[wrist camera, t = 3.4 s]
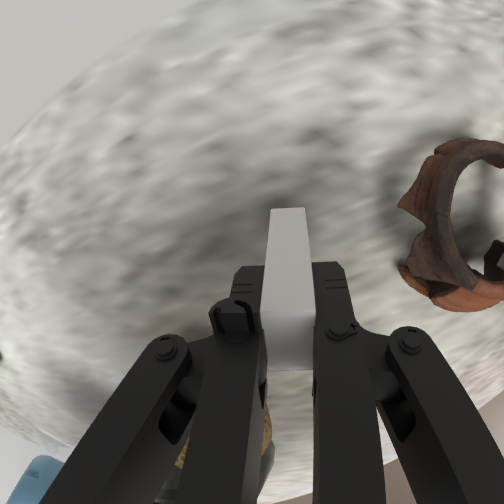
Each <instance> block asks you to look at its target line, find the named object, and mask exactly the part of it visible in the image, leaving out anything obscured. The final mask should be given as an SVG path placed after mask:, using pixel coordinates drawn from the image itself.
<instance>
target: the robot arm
mask: <svg viewBox="0 0 504 504" xmlns="http://www.w3.org/2000/svg"><path fill="white" fill-rule="evenodd" d="M208 314H209V317H210V321H211V324H212V328H213V331H214V335H212V336H210V337H208V338H205V339H202V340H198V341H194V342H190V343H187V342H186V341H185V340H184V339H183V338H182V337H180V336H178V335H172V334H168V335H163V336H160V337H158V338H156V339H154V340H153V341H152V342H151V343H150V344H149V345H148V346H147V347H146V348H145V350H144V351H143V352H142V354H141V355H140V357H139V358H138V359H137V361H136V362H135V364H134V365H133V366H132V368H131V369H130V370H129V372H128V373H127V375H126V376H125V377H124V379H123V380H122V382H121V383H120V384H119V386H118V387H117V389H116V390H115V391H114V393H113V394H112V396H111V397H110V399H109V400H108V401H107V403H106V404H105V406H104V407H103V408H102V410H101V411H100V413H99V414H98V416H97V417H96V419H95V420H94V421H93V423H92V424H91V426H90V427H89V429H88V430H87V432H86V433H85V434H84V436H83V437H82V439H81V440H80V442H79V443H78V445H77V446H76V448H75V449H74V451H73V452H72V454H71V455H70V457H69V458H68V459H67V461H66V462H65V463H63V462H61V461H59V460H57V459H55V458H53V457H51V456H48V455H40V456H37V457H36V458H34V459H33V460H32V462H31V463H30V465H29V466H28V468H27V469H26V471H25V472H24V474H23V475H22V477H21V479H20V480H19V482H18V484H17V485H16V487H15V489H14V490H13V492H12V494H11V496H10V498H9V499H8V501H7V503H6V504H257V498H258V496H259V494H260V492H261V490H262V488H263V486H264V483H265V481H266V479H267V477H268V475H269V473H270V471H271V468H272V466H273V463H274V451H275V448H274V445H273V443H272V442H271V441H270V444H269V446H268V448H267V450H266V451H265V452H264V453H263V455H262V456H261V454H262V443H263V432H264V421H265V409H266V397H267V378H266V373H267V368H268V371H284V370H313V388H312V396H313V422H314V460H313V504H386V493H385V480H384V469H383V458H382V449H381V441H380V433H379V425H378V418H377V411H376V407H377V409H378V412H379V414H380V416H381V418H382V421H383V423H384V425H385V428H386V430H387V432H388V434H389V437H390V439H391V441H392V444H393V446H394V448H395V451H396V453H397V456H398V458H399V460H400V463H401V465H402V468H403V470H404V472H405V475H406V477H407V480H408V482H409V485H410V487H411V490H412V492H413V495H414V497H415V500H416V503H417V504H504V458H503V456H502V454H501V452H500V450H499V448H498V446H497V444H496V442H495V441H494V439H493V437H492V435H491V433H490V431H489V430H488V428H487V426H486V424H485V423H484V421H483V419H482V417H481V416H480V414H479V412H478V410H477V409H476V407H475V405H474V404H473V402H472V400H471V399H470V397H469V395H468V394H467V392H466V391H465V389H464V387H463V386H462V384H461V383H460V381H459V379H458V378H457V376H456V375H455V373H454V372H453V370H452V369H451V367H450V366H449V364H448V363H447V361H446V360H445V358H444V357H443V355H442V354H441V352H440V351H439V349H438V348H437V346H436V345H435V343H434V342H433V340H432V339H431V338H430V336H429V335H428V334H427V333H426V332H425V331H423V330H421V329H419V328H417V327H411V326H406V327H400V328H398V329H396V330H394V331H393V333H392V334H391V335H390V336H386V335H380V334H375V333H372V332H369V331H367V330H365V329H364V328H362V327H361V326H360V324H359V323H358V322H357V321H356V319H355V317H354V312H353V307H352V303H351V298H350V294H349V289H348V285H347V281H346V277H345V272H344V269H343V268H342V267H341V266H340V265H339V264H338V263H337V262H336V261H334V262H313V263H311V256H310V247H309V239H308V230H307V222H306V214H305V207H299V208H280V209H271V214H270V223H269V233H268V242H267V252H266V261H265V265H264V266H242V267H241V268H240V269H239V270H238V272H237V273H236V274H235V275H234V280H233V286H232V288H231V294H230V297H229V298H226V299H224V300H221V301H219V302H217V303H216V304H215V305H214V306H212V308H211V309H210V311H209V313H208ZM189 436H190V437H189ZM188 438H189V441H188V445H187V450H186V454H185V458H184V463H183V467H182V469H181V468H179V467H178V466H177V465H175V462H176V461H177V459H178V457H179V455H180V453H181V451H182V449H183V448H184V446H185V444H186V442H187V440H188ZM155 499H156V500H155Z"/></svg>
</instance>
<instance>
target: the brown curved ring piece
mask: <svg viewBox="0 0 504 504" xmlns="http://www.w3.org/2000/svg"><path fill="white" fill-rule="evenodd" d="M480 159H483V160H485V161H486V162H488V163H490V164H491V165H493V166H494V167H497V168H500V169H501V168H504V144H502V143H500V142H497V141H489V140H478V139H471V138H461V139H454V140H451V141H448V142H446V143H444V144H442V145H440V146H438V147H436V148H435V149H434V155H432V156H429V157H427V158H426V159H425V161H424V163H423V165H422V167H421V169H420V172H419V174H418V176H417V179H416V180H415V182H414V184H413V185H412V187H411V188H410V189H409V191H408V192H407V193H406V194H405V195H404V196H403V197H402V199H401V200H400V202H399V203H398V205H397V206H398V207H399V208H403V209H404V210H406V211H408V212H409V213H410V214H411V215H413V216H415V217H416V218H418V219H419V220H420V221H422V222H423V223H424V224H425V225H426V229H425V230H424V231H423V232H421V233H420V234H418V235H417V237H416V239H415V241H414V243H413V247H412V252H411V254H410V255H409V257H408V258H407V265H408V268H409V270H410V272H409V271H408V270H407V269H406V268H405V267H404V266H400V267H399V268H398V270H399V272H400V274H401V276H402V278H403V279H404V280H405V282H406V283H407V284H408V285H409V286H410V287H412V288H413V289H415V290H416V291H418V292H419V293H421V294H423V295H425V296H427V297H429V299H431V301H432V302H433V304H434V305H436V306H439V307H441V308H443V309H445V310H449V311H453V312H476V311H481V310H485V309H487V308H490V307H492V306H494V305H496V304H498V303H499V302H500V301H502V300H504V242H501V241H499V240H494V242H493V243H492V245H491V247H490V249H489V250H488V251H487V253H486V254H485V255H484V275H483V274H481V273H480V272H478V271H477V270H475V269H472V268H471V267H470V266H469V265H468V264H466V263H465V262H464V260H463V259H462V257H461V255H460V253H459V250H458V247H457V245H456V242H455V239H454V235H453V231H452V224H451V219H450V212H451V201H452V197H453V192H454V188H455V185H456V182H457V180H458V177H459V175H460V174H461V172H462V171H463V170H464V169H465V168H466V167H467V166H468V165H469V164H471V163H473V162H474V161H477V160H480ZM420 277H426V278H428V279H430V280H425V279H422V278H420Z"/></svg>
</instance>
